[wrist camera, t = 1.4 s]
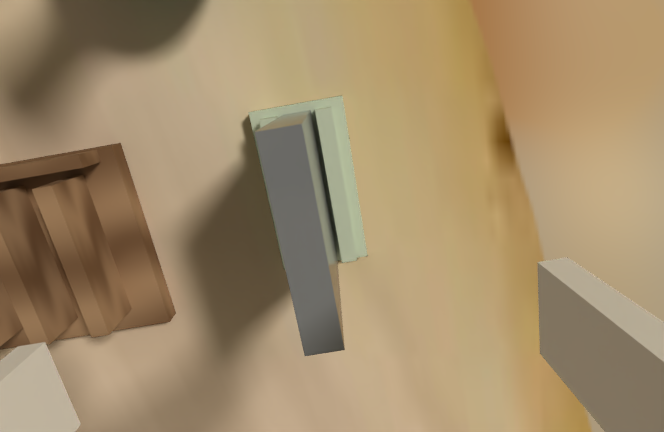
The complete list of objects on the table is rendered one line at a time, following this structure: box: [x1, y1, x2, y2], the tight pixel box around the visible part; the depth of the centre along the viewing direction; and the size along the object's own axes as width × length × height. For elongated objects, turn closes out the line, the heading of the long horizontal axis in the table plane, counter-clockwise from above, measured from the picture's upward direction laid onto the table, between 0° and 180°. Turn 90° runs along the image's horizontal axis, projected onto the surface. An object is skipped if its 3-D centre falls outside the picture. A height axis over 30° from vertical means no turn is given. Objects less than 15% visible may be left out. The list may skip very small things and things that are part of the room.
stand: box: [249, 96, 367, 270], centre depth 27 cm, size 11×6×3 cm, turn 10°
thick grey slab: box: [255, 110, 345, 356], centre depth 22 cm, size 10×2×11 cm, turn 10°
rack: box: [0, 143, 176, 349], centre depth 27 cm, size 13×18×4 cm
